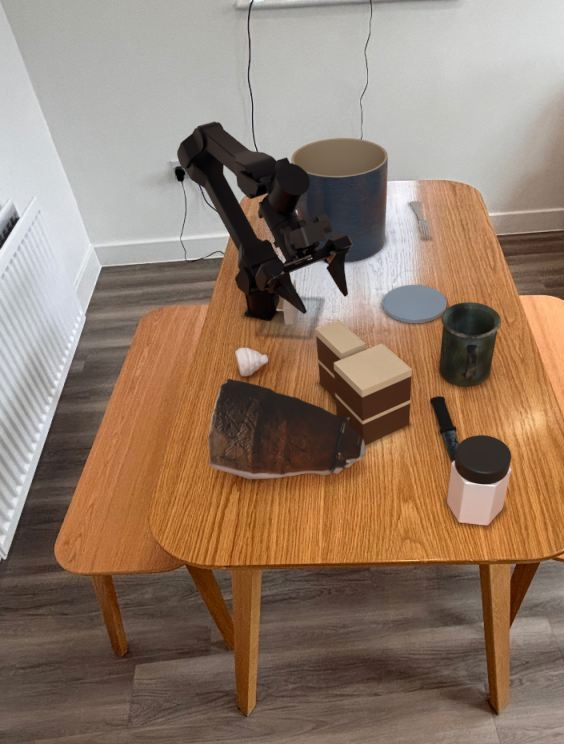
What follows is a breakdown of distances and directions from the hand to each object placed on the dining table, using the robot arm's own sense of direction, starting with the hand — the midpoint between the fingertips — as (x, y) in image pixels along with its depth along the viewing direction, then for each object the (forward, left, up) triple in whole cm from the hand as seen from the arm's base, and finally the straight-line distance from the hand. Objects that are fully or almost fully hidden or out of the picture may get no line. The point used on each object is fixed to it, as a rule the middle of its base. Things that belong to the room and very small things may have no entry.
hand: (326, 304), depth 117 cm
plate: (+9, +27, -14) cm, 32 cm away
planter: (-17, +49, -14) cm, 54 cm away
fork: (-2, +66, -14) cm, 68 cm away
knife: (+28, -12, -15) cm, 34 cm away
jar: (+36, -26, -14) cm, 47 cm away
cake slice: (+5, -6, -14) cm, 16 cm away
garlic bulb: (-14, -6, -14) cm, 21 cm away
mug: (+26, +6, -14) cm, 30 cm away
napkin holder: (-15, +14, -15) cm, 25 cm away
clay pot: (+4, -27, -15) cm, 31 cm away
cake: (+14, -12, -14) cm, 23 cm away
